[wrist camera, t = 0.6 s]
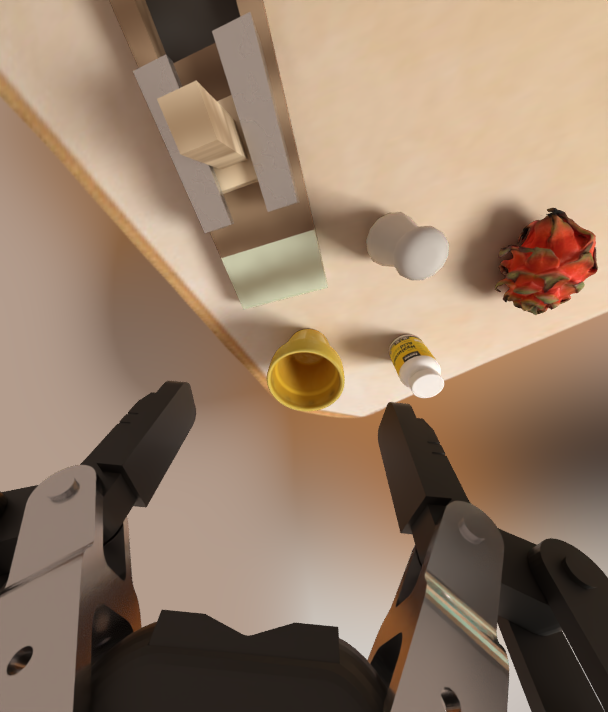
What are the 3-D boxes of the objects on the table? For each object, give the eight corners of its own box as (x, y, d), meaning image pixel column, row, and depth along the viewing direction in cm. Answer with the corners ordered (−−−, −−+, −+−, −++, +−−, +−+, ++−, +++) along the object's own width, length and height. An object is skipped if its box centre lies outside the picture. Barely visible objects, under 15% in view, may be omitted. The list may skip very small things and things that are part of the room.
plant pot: (265, 353, 41) (252, 391, 32) (297, 305, 36) (291, 335, 28) (316, 380, 43) (316, 422, 35) (352, 339, 39) (361, 375, 30)
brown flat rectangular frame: (99, -59, 20) (67, -97, 17) (230, -143, 18) (216, -201, 15) (248, 302, 36) (243, 309, 33) (326, 281, 34) (327, 287, 31)
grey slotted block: (157, 89, 22) (132, 71, 19) (260, 40, 20) (250, 11, 17) (216, 230, 28) (204, 233, 25) (299, 202, 26) (297, 202, 23)
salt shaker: (354, 250, 31) (374, 274, 20) (379, 202, 29) (417, 201, 18) (392, 269, 33) (430, 302, 22) (419, 225, 30) (479, 237, 19)
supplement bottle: (405, 327, 37) (431, 362, 29) (429, 344, 38) (460, 383, 30) (380, 351, 40) (397, 390, 31) (404, 367, 41) (426, 408, 33)
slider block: (194, 123, 23) (118, 73, 14) (250, 98, 22) (207, 28, 13) (221, 194, 26) (173, 189, 17) (272, 176, 25) (248, 160, 16)
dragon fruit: (497, 305, 36) (504, 216, 32) (583, 302, 30) (606, 193, 26) (489, 325, 31) (497, 221, 26) (592, 326, 25) (624, 193, 20)
